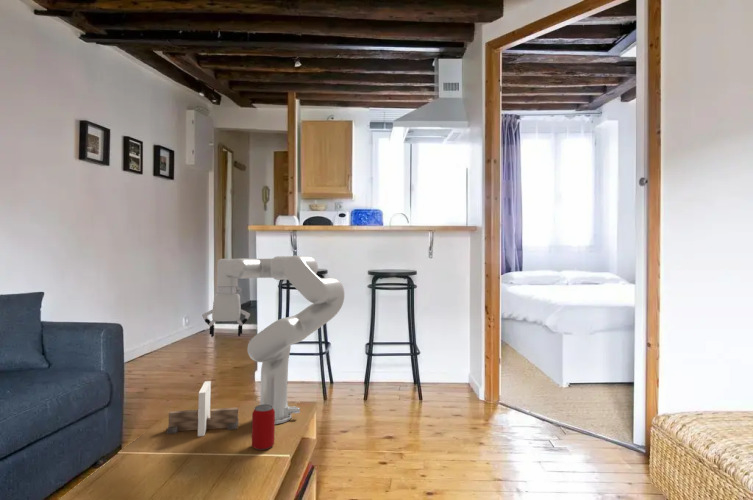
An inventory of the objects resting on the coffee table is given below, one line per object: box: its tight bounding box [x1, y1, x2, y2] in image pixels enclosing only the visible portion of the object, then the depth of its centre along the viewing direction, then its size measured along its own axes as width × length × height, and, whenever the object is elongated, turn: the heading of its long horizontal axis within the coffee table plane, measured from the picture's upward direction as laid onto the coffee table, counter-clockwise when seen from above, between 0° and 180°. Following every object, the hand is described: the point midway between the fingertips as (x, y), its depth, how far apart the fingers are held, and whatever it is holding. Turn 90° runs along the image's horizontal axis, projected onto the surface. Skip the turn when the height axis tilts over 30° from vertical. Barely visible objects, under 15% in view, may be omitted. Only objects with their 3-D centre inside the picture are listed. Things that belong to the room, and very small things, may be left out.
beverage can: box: [251, 404, 276, 451], centre depth 136 cm, size 7×7×12 cm
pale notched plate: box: [197, 380, 212, 437], centre depth 151 cm, size 2×14×14 cm, turn 14°
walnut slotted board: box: [166, 407, 239, 435], centre depth 150 cm, size 22×6×6 cm, turn 103°
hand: (226, 336), depth 168 cm, fingers open, 9 cm apart
